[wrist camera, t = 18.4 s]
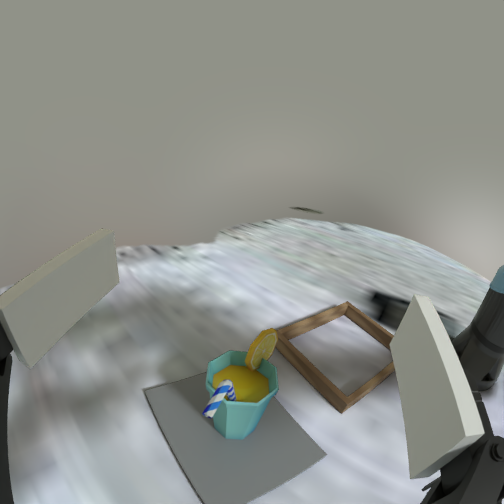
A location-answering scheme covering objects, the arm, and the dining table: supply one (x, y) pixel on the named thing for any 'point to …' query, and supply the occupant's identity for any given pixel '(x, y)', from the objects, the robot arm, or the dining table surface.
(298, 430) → the board
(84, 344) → the dining table surface
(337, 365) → the dining table surface
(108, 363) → the dining table surface
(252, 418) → the cup
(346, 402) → the wooden picture frame
